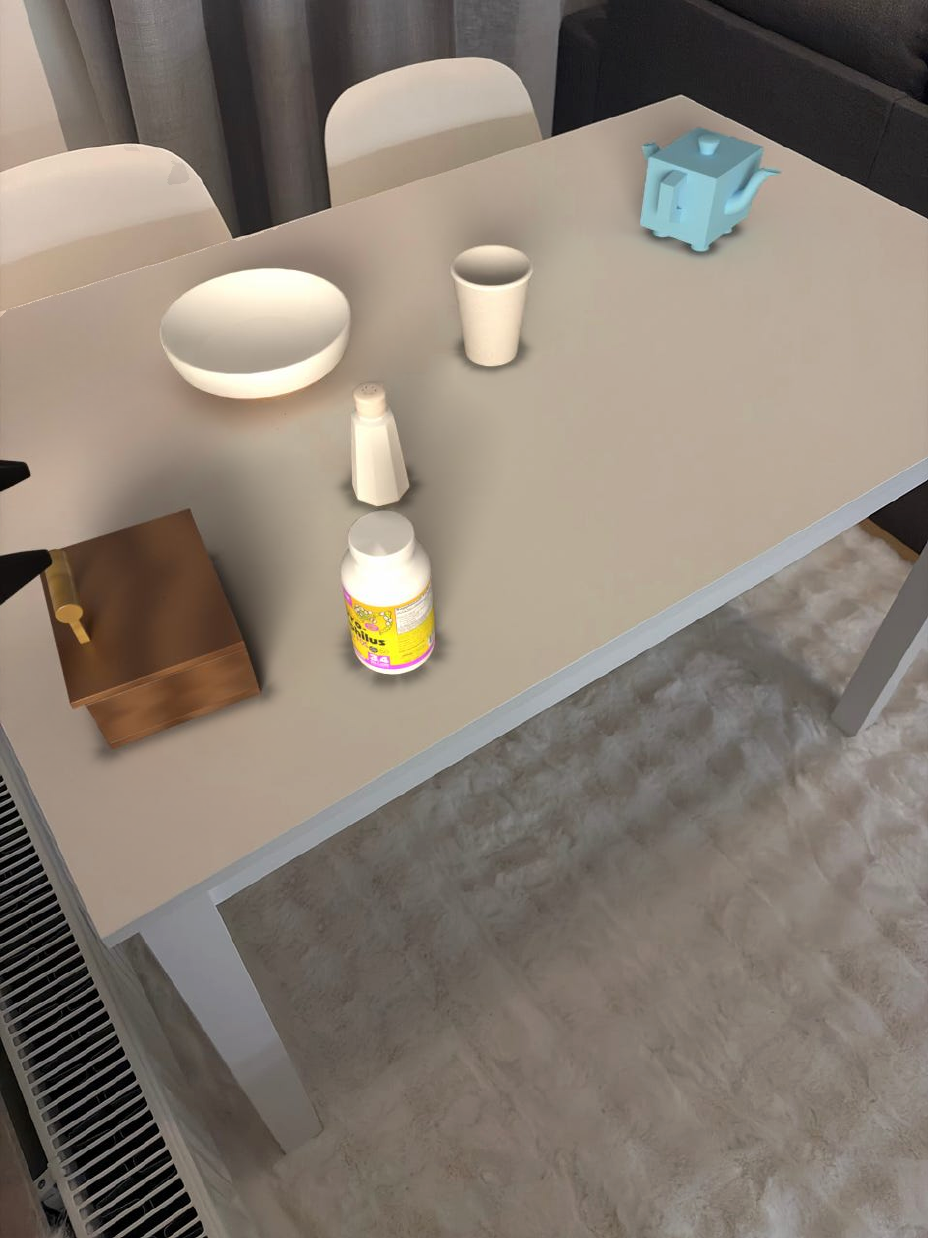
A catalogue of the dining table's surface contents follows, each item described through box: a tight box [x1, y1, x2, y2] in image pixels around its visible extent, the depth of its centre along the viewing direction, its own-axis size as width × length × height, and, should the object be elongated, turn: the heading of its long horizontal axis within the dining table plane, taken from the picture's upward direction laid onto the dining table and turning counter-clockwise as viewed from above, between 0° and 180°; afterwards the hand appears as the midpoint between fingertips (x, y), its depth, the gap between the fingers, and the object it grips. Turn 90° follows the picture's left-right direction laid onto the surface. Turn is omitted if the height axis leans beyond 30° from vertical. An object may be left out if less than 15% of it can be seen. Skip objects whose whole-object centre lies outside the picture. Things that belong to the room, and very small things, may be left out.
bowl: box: [158, 267, 352, 402], centre depth 96 cm, size 20×20×6 cm
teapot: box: [639, 126, 782, 252], centre depth 110 cm, size 16×18×11 cm
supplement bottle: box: [339, 510, 436, 675], centre depth 69 cm, size 7×7×13 cm
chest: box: [84, 646, 262, 750], centre depth 72 cm, size 12×16×6 cm
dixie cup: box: [449, 244, 534, 367], centre depth 96 cm, size 8×8×10 cm
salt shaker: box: [350, 381, 410, 507], centre depth 82 cm, size 5×5×11 cm
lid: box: [39, 507, 246, 710], centre depth 68 cm, size 12×16×5 cm
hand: (39, 510), depth 60 cm, fingers open, 9 cm apart
